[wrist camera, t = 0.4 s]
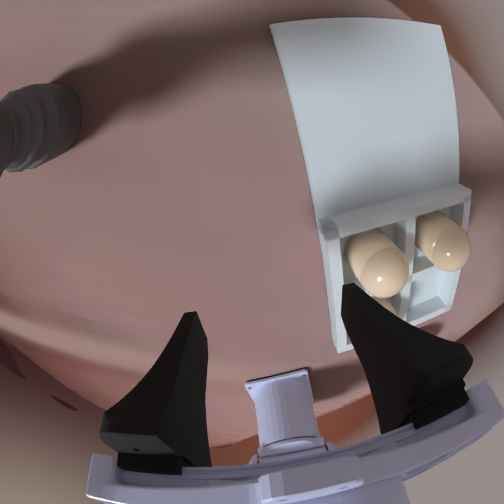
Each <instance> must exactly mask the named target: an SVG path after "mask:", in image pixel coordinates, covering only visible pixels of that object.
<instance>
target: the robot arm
mask: <svg viewBox="0 0 504 504" xmlns="http://www.w3.org/2000/svg"><path fill="white" fill-rule="evenodd" d="M341 318H342V321H343V324H344V327H345V330H346V332H347V334H348V337H349V339H350V341H351V343H352V345H353V347H354V349H355V351H356V353H357V355H358V357H359V360H360V362H361V364H362V366H363V368H364V371H365V374H366V377H367V380H368V383H369V386H370V389H371V393H372V396H373V400H374V404H375V408H376V412H377V416H378V421H379V426H380V431H381V435H379V436H376V437H373V438H370V439H367V440H365V441H361V442H358V443H355V444H351V445H348V446H344V447H341V448H336V447H335V446H334V445H333V444H331V443H330V442H325V443H324V439H323V437H320V434H319V430H318V426H317V422H316V418H315V414H314V409H313V405H312V402H314V399H313V394H312V390H311V385H310V380H309V376H308V371H307V370H306V369H302V370H298V371H294V372H290V373H286V374H282V375H278V376H274V377H269V378H265V379H260V380H255V381H251V382H246V383H245V388H246V389H247V391H248V393H249V394H250V396H251V398H252V399H253V401H254V402H255V407H256V416H257V425H258V434H259V442H260V448H258V453H259V455H254V456H253V457H252V458H251V460H250V461H249V464H248V465H236V466H220V467H212V465H211V458H210V451H209V443H208V434H207V423H206V408H205V392H206V378H207V365H208V344H207V337H206V335H205V332H204V330H203V327H202V325H201V322H200V319H199V317H198V314H197V311H194V312H187V313H184V314H183V316H182V318H181V320H180V322H179V324H178V326H177V328H176V329H175V331H174V333H173V335H172V337H171V338H170V340H169V342H168V344H167V345H166V347H165V349H164V350H163V352H162V353H161V355H160V356H159V358H158V359H157V361H156V362H155V364H154V365H153V366H152V368H151V369H150V370H149V372H148V373H147V374H146V375H145V376H144V378H143V379H142V380H141V381H140V382H139V383H138V384H137V385H136V386H135V387H134V388H133V389H132V390H131V391H130V392H129V393H128V394H127V395H126V396H125V397H124V398H123V399H121V400H120V401H119V402H118V403H116V404H115V405H114V406H112V407H111V408H110V409H108V410H107V411H106V412H105V413H104V416H103V420H102V425H101V429H100V435H99V437H100V439H101V440H102V441H103V442H104V443H105V444H107V445H108V446H109V447H111V448H112V449H114V450H115V451H117V452H118V458H116V457H113V456H108V455H103V454H97V453H93V454H92V458H91V464H90V470H89V477H88V484H87V491H86V495H87V496H88V497H90V498H93V499H96V500H98V501H101V502H104V503H107V504H410V503H409V499H408V496H407V492H406V489H405V486H404V483H403V482H404V481H406V480H408V479H410V478H412V477H414V476H416V475H418V474H420V473H422V472H424V471H426V470H428V469H430V468H432V467H434V466H436V465H437V464H439V463H441V462H443V461H445V460H446V459H448V458H450V457H451V456H453V455H455V454H456V453H458V452H460V451H461V450H463V449H465V448H466V447H468V446H469V445H471V444H472V443H474V442H475V441H477V440H478V439H480V438H481V437H482V436H484V435H485V434H486V433H487V432H489V431H490V430H491V429H492V428H493V427H494V426H495V425H496V424H498V422H500V421H501V420H502V419H503V418H504V409H503V407H502V406H501V404H500V402H499V400H498V398H497V396H496V395H495V393H494V391H493V389H492V388H491V386H490V384H489V383H488V381H487V379H484V380H483V381H481V382H480V383H478V384H476V385H474V386H473V387H471V388H470V389H469V390H467V391H465V389H464V388H463V387H465V382H464V381H463V378H464V376H465V375H466V374H467V372H468V371H469V369H470V367H471V366H472V363H473V358H472V356H471V355H470V353H469V351H468V350H467V349H466V347H465V346H464V345H463V344H459V343H456V342H452V341H449V340H445V339H443V338H440V337H437V336H434V335H432V334H430V333H427V332H425V331H423V330H421V329H419V328H417V327H415V326H413V325H411V324H409V323H408V322H406V321H404V320H403V319H401V318H399V317H398V316H396V315H395V314H393V313H392V312H390V311H389V310H388V309H386V308H385V307H384V306H382V305H381V304H380V303H378V302H377V301H376V300H375V299H373V298H372V297H371V296H370V295H368V294H367V293H366V292H365V291H364V290H362V289H361V288H360V287H359V286H357V285H356V284H355V283H349V284H345V285H342V301H341Z"/></svg>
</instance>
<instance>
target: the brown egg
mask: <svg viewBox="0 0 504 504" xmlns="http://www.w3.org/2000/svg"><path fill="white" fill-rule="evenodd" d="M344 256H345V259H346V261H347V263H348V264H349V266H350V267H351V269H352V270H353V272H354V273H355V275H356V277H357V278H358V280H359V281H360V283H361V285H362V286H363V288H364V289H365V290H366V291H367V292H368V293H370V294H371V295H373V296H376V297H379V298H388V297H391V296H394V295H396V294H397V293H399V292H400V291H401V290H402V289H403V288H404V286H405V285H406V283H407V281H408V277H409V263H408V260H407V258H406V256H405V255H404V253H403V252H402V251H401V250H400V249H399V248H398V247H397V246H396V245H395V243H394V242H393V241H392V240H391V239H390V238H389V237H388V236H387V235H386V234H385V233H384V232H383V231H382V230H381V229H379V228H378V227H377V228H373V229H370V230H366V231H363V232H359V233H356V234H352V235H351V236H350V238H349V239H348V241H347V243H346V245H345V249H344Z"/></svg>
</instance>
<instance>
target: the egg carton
mask: <svg viewBox="0 0 504 504" xmlns="http://www.w3.org/2000/svg"><path fill="white" fill-rule="evenodd" d="M269 28H270V31H271V34H272V37H273V40H274V43H275V47H276V50H277V53H278V57H279V60H280V64H281V67H282V70H283V74H284V78H285V81H286V85H287V89H288V92H289V96H290V100H291V104H292V108H293V112H294V116H295V120H296V124H297V128H298V133H299V137H300V141H301V146H302V150H303V155H304V160H305V164H306V169H307V174H308V179H309V184H310V189H311V194H312V200H313V205H314V211H315V216H316V222H317V228H318V234H319V240H320V247H321V253H322V260H323V267H324V274H325V282H326V290H327V298H328V306H329V315H330V324H331V335H332V339H333V341H334V344H335V347H336V349H337V352H338V353H341V352H344V351H348V350H351V349H354V347H353V345H352V343H351V341H350V339H349V337H348V334H347V332H346V330H345V327H344V324H343V321H342V318H341V301H342V285H345V284H349V283H355V284H356V285H357V286H359V287H360V288H361V289H362V290H364V291H365V292H366V293H367V294H368V295H370V296H371V297H372V296H373V295H371V294H370V293H368V292H367V291H366V290H365V289H364V288H363V286H362V285H361V283H360V281H359V280H358V278H357V277H356V275H355V273H354V272H353V270H352V269H351V267H350V266H349V264H348V263H347V261H346V259H345V256H344V249H345V245H346V243H347V241H348V239H349V238H350V236H351V235H352V234H356V233H359V232H363V231H366V230H370V229H373V228H377V227H378V228H379V229H381V230H382V231H383V232H384V233H385V234H386V235H387V236H388V237H389V238H390V239H391V240H392V241H393V242H394V243H395V245H396V246H397V247H398V248H399V249H400V250H401V251H402V252H403V253H404V255H405V256H406V258H407V260H408V263H409V277H408V281H407V283H406V285H405V286H404V288H403V289H402V290H401V291H400V292H399V293H397V294H396V295H394V296H391V297H388V298H387V299H388V301H389V302H390V304H391V305H392V307H393V308H394V310H395V311H396V313H397V315H398V316H399V318H401V319H403V320H404V321H406V322H408V323H409V324H411V325H413V326H415V325H417V324H419V323H422V322H424V321H426V320H429V319H431V318H433V317H435V316H437V315H440V314H442V313H444V312H446V311H448V310H450V309H451V307H452V303H453V300H454V296H455V292H456V288H457V284H458V280H459V275H460V271H461V269H459V270H457V271H453V272H445V271H442V270H440V269H438V268H437V267H436V266H435V265H434V264H433V263H432V262H431V261H430V260H429V259H428V258H427V257H426V256H425V255H424V254H423V253H422V252H421V251H420V250H419V249H418V248H417V247H416V246H415V227H416V218H417V217H418V216H419V215H422V214H426V213H429V212H433V211H436V210H439V211H440V212H442V213H443V214H444V215H446V216H447V217H448V218H450V219H451V220H452V221H454V222H455V223H456V224H458V225H459V226H460V227H462V228H463V229H464V230H465V232H466V233H467V231H468V223H469V215H470V205H471V192H472V190H470V189H469V188H467V187H465V186H463V185H462V184H460V183H459V134H458V120H457V109H456V100H455V93H454V86H453V79H452V73H451V68H450V63H449V58H448V53H447V49H446V45H445V41H444V37H443V33H442V30H441V26H440V25H433V24H428V23H422V22H415V21H406V20H397V19H384V18H321V19H308V20H298V21H289V22H282V23H275V24H270V26H269Z"/></svg>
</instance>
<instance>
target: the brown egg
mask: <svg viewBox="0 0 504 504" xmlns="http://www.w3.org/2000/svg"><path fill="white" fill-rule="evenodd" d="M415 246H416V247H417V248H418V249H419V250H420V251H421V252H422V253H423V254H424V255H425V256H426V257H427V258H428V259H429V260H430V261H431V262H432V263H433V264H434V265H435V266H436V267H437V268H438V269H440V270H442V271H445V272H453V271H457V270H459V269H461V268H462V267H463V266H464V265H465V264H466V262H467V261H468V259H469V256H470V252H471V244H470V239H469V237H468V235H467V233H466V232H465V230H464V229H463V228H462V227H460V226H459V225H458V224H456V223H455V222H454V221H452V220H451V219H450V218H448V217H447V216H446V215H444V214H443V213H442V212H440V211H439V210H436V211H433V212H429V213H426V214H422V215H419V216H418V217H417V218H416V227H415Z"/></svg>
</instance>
